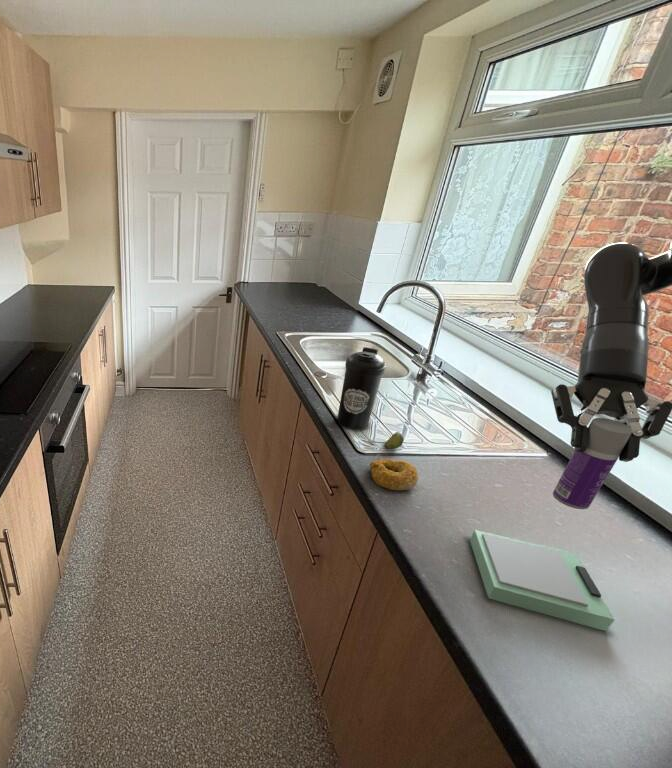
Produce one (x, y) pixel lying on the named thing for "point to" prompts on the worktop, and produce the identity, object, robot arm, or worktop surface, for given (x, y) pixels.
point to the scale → (539, 579)
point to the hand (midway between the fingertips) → (603, 455)
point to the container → (592, 463)
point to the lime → (395, 441)
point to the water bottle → (360, 388)
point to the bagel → (394, 474)
